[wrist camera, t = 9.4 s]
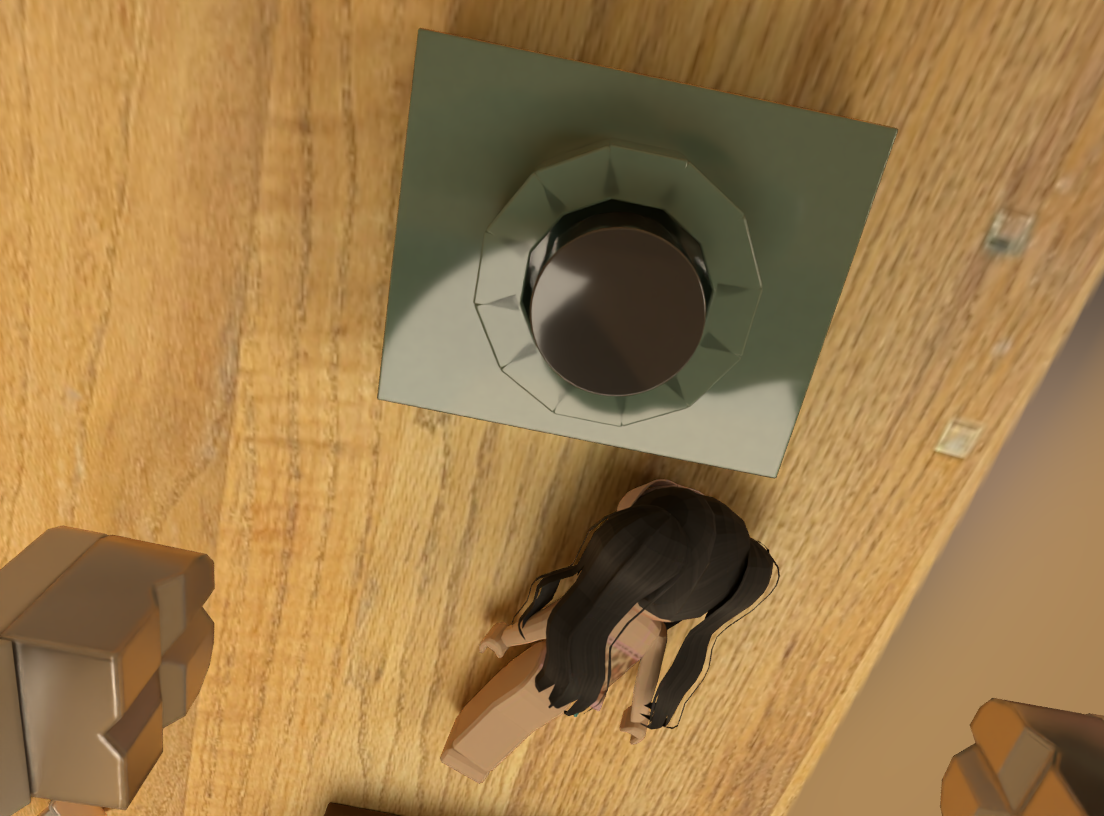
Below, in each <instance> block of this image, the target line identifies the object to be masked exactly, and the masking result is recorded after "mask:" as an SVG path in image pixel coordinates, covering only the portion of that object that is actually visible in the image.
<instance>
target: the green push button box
mask: <svg viewBox="0 0 1104 816" xmlns="http://www.w3.org/2000/svg"><path fill="white" fill-rule="evenodd" d="M897 132H898V129H897V128H894V127H890V126H885V125H881V124H876V123H872V122H868V121H863V120H859V119H854V118H850V117H845V116H840V115H836V114H831V113H826V112H821V111H817V110H812V109H807V108H802V107H798V106H793V105H788V104H783V103H779V102H774V101H769V100H764V99H760V98H755V97H750V96H745V95H741V94H736V93H731V92H726V91H722V90H717V89H712V88H707V87H703V86H698V85H693V84H688V83H683V82H679V81H674V80H669V79H664V78H660V77H655V76H650V75H645V74H641V73H636V72H631V71H626V70H622V69H617V68H612V67H607V66H603V65H598V64H593V63H588V62H584V61H579V60H574V59H569V58H565V57H560V56H555V55H550V54H546V53H541V52H536V51H531V50H527V49H522V48H517V47H512V46H507V45H503V44H498V43H493V42H488V41H484V40H479V39H474V38H469V37H465V36H460V35H455V34H450V33H445V32H440V31H434V30H429V29H423V28H419V29H418V34H417V43H416V52H415V61H414V70H413V79H412V88H411V97H410V106H409V115H408V124H407V133H406V142H405V151H404V160H403V169H402V178H401V187H400V196H399V205H398V214H397V223H396V232H395V241H394V250H393V259H392V268H391V277H390V286H389V295H388V304H387V313H386V322H385V331H384V340H383V349H382V358H381V367H380V376H379V385H378V394H377V398H378V399H379V400H384V401H389V402H394V403H399V404H404V405H409V406H414V407H419V408H424V409H429V410H434V411H439V412H444V413H449V414H454V415H459V416H464V417H469V418H474V419H479V420H484V421H489V422H494V423H499V424H504V425H509V426H514V427H519V428H524V429H529V430H534V431H539V432H544V433H549V434H554V435H559V436H564V437H569V438H574V439H579V440H584V441H589V442H594V443H599V444H604V445H609V446H614V447H619V448H625V449H630V450H635V451H640V452H645V453H650V454H655V455H660V456H665V457H670V458H675V459H680V460H685V461H690V462H695V463H700V464H705V465H710V466H715V467H720V468H725V469H730V470H735V471H740V472H745V473H750V474H755V475H760V476H765V477H770V478H776V477H777V474H778V472H779V469H780V466H781V463H782V460H783V457H784V454H785V452H786V449H787V446H788V443H789V440H790V437H791V434H792V432H793V429H794V426H795V423H796V420H797V417H798V415H799V412H800V409H801V406H802V403H803V400H804V397H805V395H806V392H807V389H808V386H809V383H810V380H811V377H812V375H813V372H814V369H815V366H816V363H817V360H818V358H819V355H820V352H821V349H822V346H823V343H824V340H825V338H826V335H827V332H828V329H829V326H830V323H831V320H832V318H833V315H834V312H835V309H836V306H837V303H838V300H839V298H840V295H841V292H842V289H843V286H844V283H845V281H846V278H847V275H848V272H849V269H850V266H851V263H852V261H853V258H854V255H855V252H856V249H857V246H858V243H859V241H860V238H861V235H862V232H863V229H864V226H865V224H866V221H867V218H868V215H869V212H870V209H871V206H872V204H873V201H874V198H875V195H876V192H877V189H878V186H879V184H880V181H881V178H882V175H883V172H884V169H885V167H886V164H887V161H888V158H889V155H890V152H891V149H892V147H893V144H894V141H895V138H896V135H897ZM612 211H624V212H631V213H637V214H640V215H644V216H647V217H649V218H651V219H654V220H656V221H657V222H659V223H661V224H662V225H664V226H665V227H666V228H668V229H669V230H670V231H671V232H673V233H674V235H675V236H676V237H677V238H678V239H679V240H680V241H681V243H682V244H683V245H684V247H685V248H686V250H687V252H688V254H689V256H690V258H691V260H692V262H693V264H694V267H695V269H696V271H697V273H698V276H699V278H700V281H701V283H702V286H703V290H704V294H705V299H706V321H705V326H704V331H703V335H702V337H701V340H700V343H699V345H698V347H697V349H696V351H695V353H694V354H693V356H692V357H691V359H690V360H689V362H688V363H687V364H686V365H685V366H684V367H683V368H682V370H681V371H679V372H678V373H677V374H676V375H675V376H674V377H673V378H671V379H670V380H668V381H667V382H665V383H664V384H662V385H660V386H658V387H656V388H654V389H652V390H649V391H646V392H643V393H639V394H635V395H630V396H604V395H598V394H594V393H590V392H587V391H584V390H582V389H579V388H577V387H575V386H574V385H572V384H570V383H568V382H567V381H565V380H564V379H563V378H561V377H560V376H559V375H558V374H557V373H556V372H555V371H553V370H552V369H551V367H550V366H549V365H548V364H547V362H546V361H545V360H544V358H543V357H542V355H541V353H540V352H539V350H538V348H537V345H536V343H535V341H534V338H533V334H532V331H531V324H530V301H531V295H532V292H533V288H534V284H535V281H536V278H537V275H538V271H539V268H540V265H541V263H542V260H543V258H544V256H545V254H546V252H547V251H548V249H549V247H550V246H551V245H552V243H553V242H554V241H555V239H556V238H557V237H558V236H559V235H560V234H561V233H562V232H563V231H565V230H566V229H567V228H569V227H570V226H571V225H573V224H575V223H576V222H578V221H580V220H582V219H584V218H587V217H589V216H592V215H595V214H599V213H604V212H612Z"/></svg>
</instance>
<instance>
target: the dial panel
mask: <svg viewBox="0 0 1104 816" xmlns="http://www.w3.org/2000/svg"><path fill="white" fill-rule="evenodd" d="M324 816H399V815H393V814H388V813H383V812H377V811H372V810H367V809H361V808H356V807H351V806H345V805H340V804H335V803H329V804H328V806H327V809H326V812H325V814H324Z"/></svg>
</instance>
